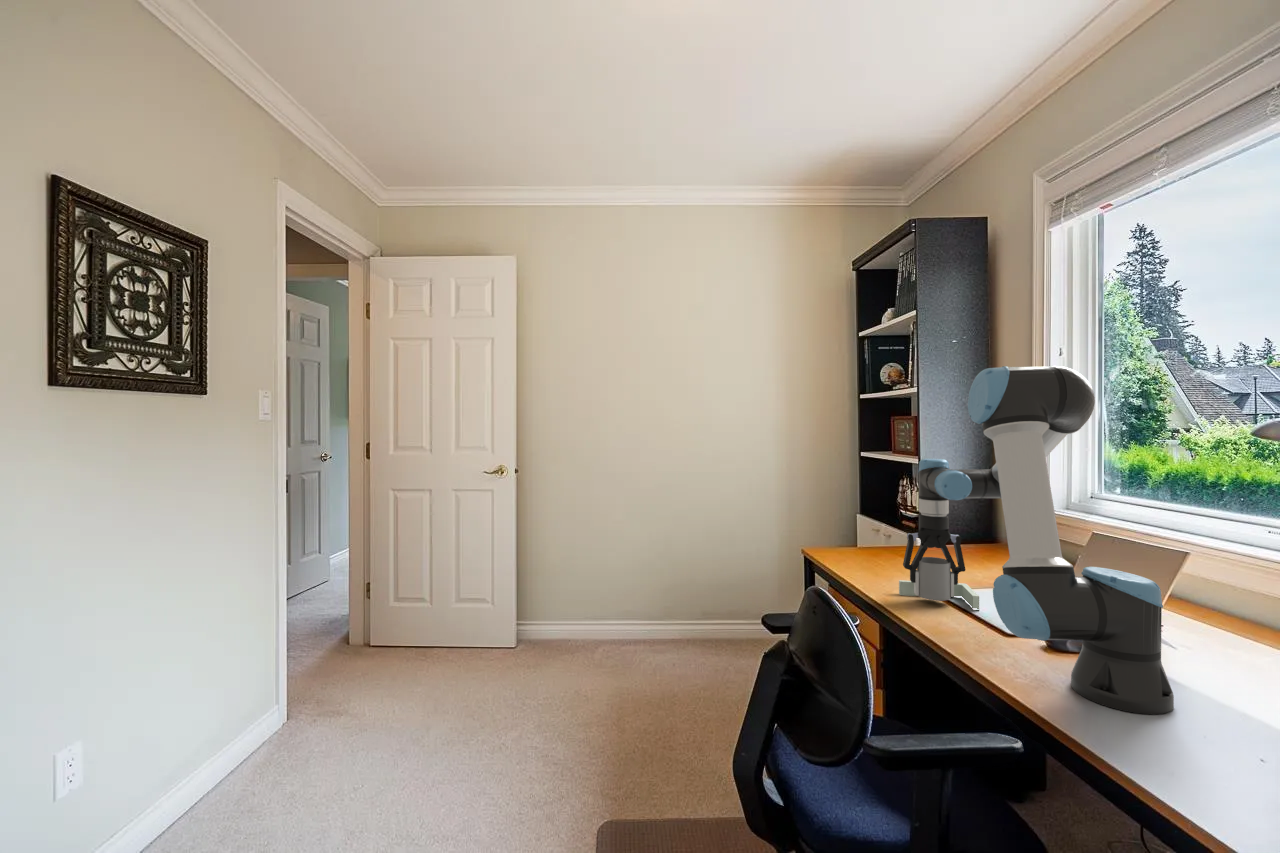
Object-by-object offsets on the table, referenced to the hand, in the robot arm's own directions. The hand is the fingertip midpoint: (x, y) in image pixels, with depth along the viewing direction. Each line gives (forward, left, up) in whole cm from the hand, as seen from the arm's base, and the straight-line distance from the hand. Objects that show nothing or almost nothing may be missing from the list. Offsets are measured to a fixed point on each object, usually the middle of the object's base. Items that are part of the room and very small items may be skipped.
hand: (933, 594), depth 169 cm
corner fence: (+2, -1, -2) cm, 3 cm away
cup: (0, 0, -1) cm, 1 cm away
